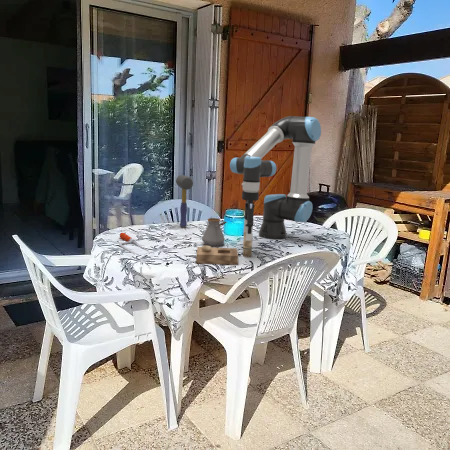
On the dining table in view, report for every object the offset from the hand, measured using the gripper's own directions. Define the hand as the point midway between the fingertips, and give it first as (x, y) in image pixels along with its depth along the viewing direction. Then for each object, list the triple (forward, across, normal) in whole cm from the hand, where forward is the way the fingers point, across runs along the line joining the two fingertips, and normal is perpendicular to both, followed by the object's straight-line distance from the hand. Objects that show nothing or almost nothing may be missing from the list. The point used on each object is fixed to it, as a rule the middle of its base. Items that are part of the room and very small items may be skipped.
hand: (247, 237), depth 212 cm
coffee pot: (+9, -14, -14) cm, 22 cm away
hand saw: (+10, -10, -55) cm, 57 cm away
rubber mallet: (+9, -53, -33) cm, 63 cm away
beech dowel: (+9, 0, 0) cm, 9 cm away
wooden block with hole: (+9, +8, -14) cm, 18 cm away
